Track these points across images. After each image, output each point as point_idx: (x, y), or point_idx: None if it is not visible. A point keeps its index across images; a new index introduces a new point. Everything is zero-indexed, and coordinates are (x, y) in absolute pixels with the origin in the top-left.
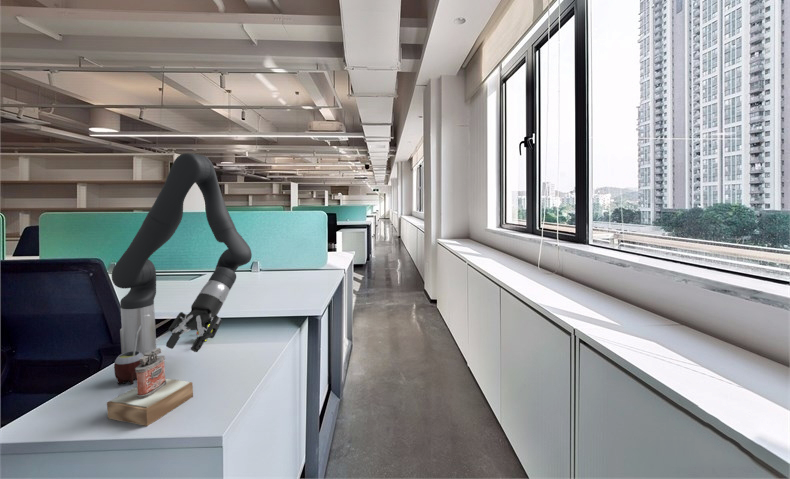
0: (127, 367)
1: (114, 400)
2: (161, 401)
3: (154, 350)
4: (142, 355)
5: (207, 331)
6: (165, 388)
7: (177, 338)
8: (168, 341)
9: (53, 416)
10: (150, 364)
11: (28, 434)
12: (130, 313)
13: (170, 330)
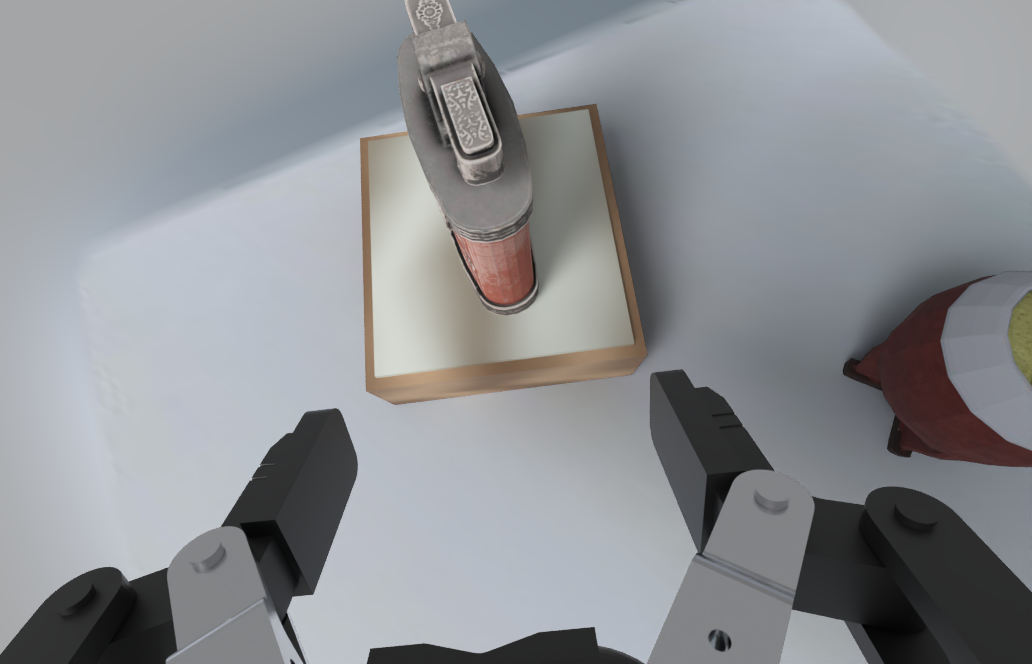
0: (924, 311)
1: (568, 114)
2: (362, 205)
3: (464, 98)
4: (1016, 429)
5: (72, 620)
6: (442, 275)
7: (690, 510)
8: (691, 391)
9: (813, 84)
10: (420, 96)
11: (740, 11)
12: None
13: (868, 497)
